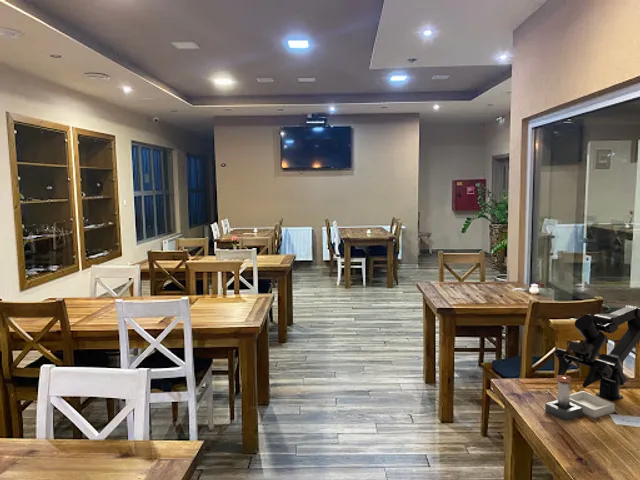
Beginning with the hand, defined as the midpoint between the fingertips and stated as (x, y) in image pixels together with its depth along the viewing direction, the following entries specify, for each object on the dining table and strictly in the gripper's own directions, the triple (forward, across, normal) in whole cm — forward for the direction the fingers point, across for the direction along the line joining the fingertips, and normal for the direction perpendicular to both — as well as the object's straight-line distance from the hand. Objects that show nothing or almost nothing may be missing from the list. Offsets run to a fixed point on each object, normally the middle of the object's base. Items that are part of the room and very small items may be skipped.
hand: (570, 382), depth 164 cm
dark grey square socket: (+10, 0, +5) cm, 11 cm away
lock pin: (+10, 0, +5) cm, 11 cm away
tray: (+2, +2, +13) cm, 13 cm away
